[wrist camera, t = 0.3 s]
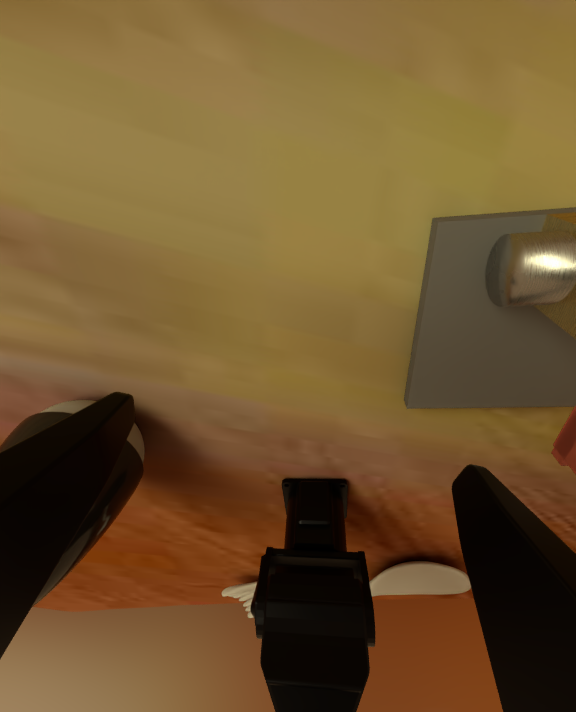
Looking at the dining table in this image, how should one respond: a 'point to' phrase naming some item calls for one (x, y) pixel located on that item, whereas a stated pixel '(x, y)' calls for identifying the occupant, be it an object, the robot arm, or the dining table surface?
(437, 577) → the white double-ended utensil part
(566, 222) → the ball valve
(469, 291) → the mounting board
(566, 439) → the valve lever
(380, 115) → the dining table surface
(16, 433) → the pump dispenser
